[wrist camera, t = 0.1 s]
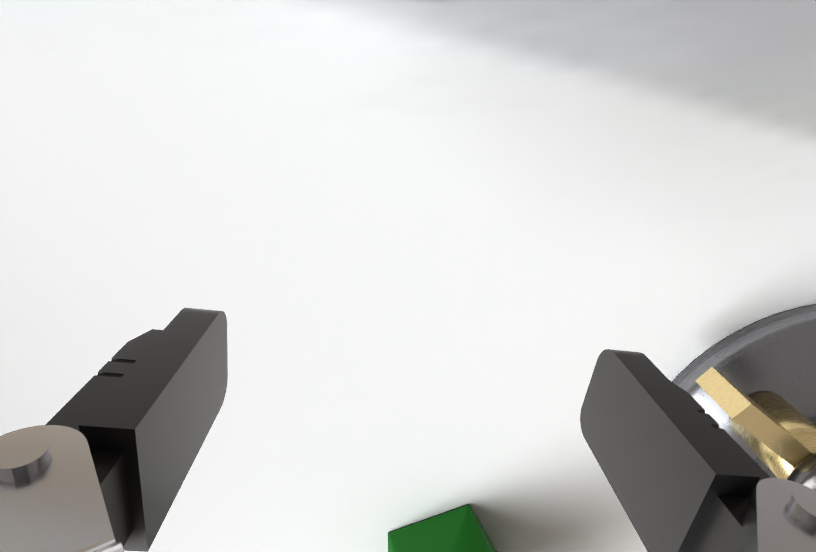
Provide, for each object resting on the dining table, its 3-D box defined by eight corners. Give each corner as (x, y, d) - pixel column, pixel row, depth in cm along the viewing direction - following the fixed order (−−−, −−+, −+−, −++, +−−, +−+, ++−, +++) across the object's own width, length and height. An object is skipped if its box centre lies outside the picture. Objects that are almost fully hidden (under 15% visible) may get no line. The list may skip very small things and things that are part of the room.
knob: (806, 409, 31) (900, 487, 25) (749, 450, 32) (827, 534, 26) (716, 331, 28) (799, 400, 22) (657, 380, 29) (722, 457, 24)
